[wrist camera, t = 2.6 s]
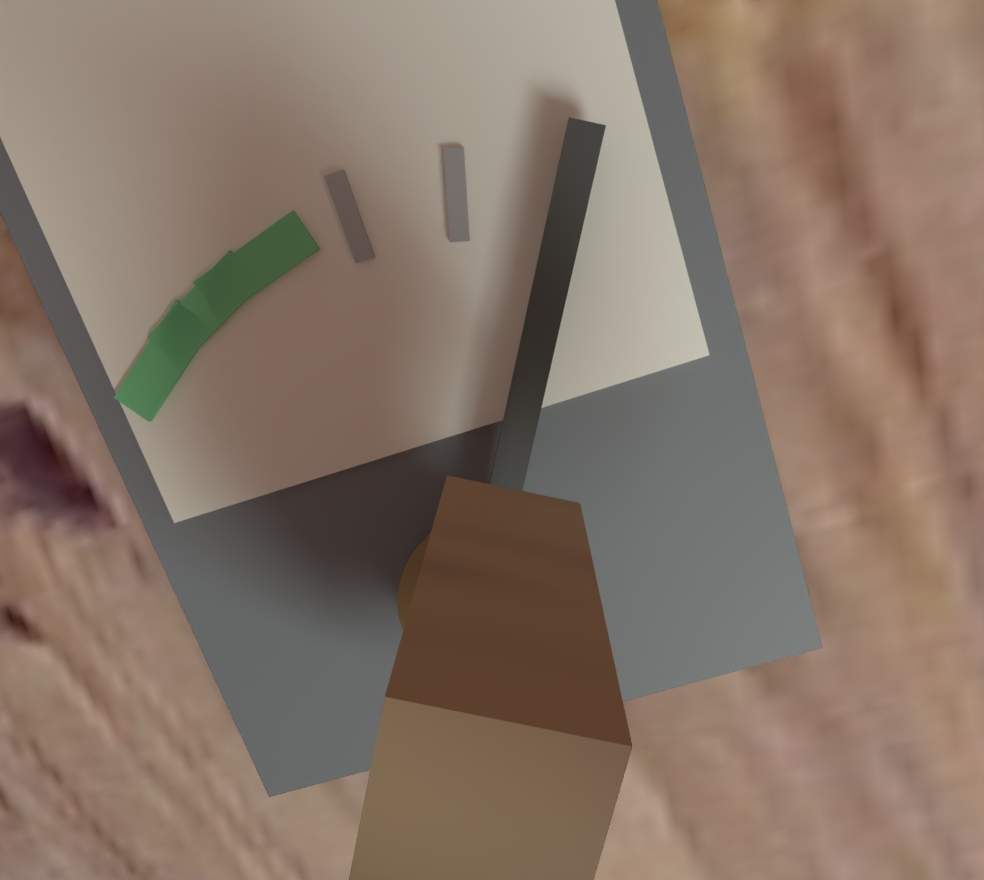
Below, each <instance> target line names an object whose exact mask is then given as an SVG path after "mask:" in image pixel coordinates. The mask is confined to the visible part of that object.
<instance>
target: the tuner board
mask: <svg viewBox="0 0 984 880" xmlns="http://www.w3.org/2000/svg"><path fill="white" fill-rule="evenodd" d="M569 117H570V118H575V119H580V120H584V121H589V122H593V123H598V124H603V125H606V128H605V132H604V136H603V141H602V145H601V149H600V154H599V158H598V163H597V167H596V171H595V176H594V180H593V184H592V189H591V193H590V198H589V202H588V206H587V211H586V215H585V219H584V224H583V228H582V232H581V237H580V241H579V246H578V250H577V254H576V259H575V263H574V267H573V272H572V276H571V281H570V285H569V289H568V294H567V298H566V302H565V307H564V311H563V316H562V320H561V324H560V329H559V333H558V337H557V342H556V346H555V351H554V355H553V359H552V364H551V368H550V372H549V377H548V381H547V386H546V390H545V394H544V399H543V403H542V407H541V412H540V416H539V421H538V425H537V429H536V434H535V438H534V442H533V447H532V451H531V456H530V460H529V464H528V469H527V473H526V477H525V482H524V486H523V491H525V492H530V493H535V494H540V495H544V496H549V497H554V498H559V499H564V500H569V501H573V502H578V503H580V505H581V509H582V514H583V519H584V523H585V528H586V533H587V537H588V542H589V547H590V551H591V556H592V561H593V565H594V570H595V575H596V579H597V584H598V589H599V593H600V598H601V603H602V607H603V612H604V617H605V621H606V626H607V631H608V635H609V640H610V645H611V649H612V654H613V659H614V663H615V668H616V673H617V677H618V682H619V687H620V691H621V696H622V701H627V700H631V699H634V698H638V697H642V696H646V695H649V694H653V693H657V692H660V691H664V690H668V689H672V688H675V687H679V686H683V685H686V684H690V683H694V682H697V681H701V680H705V679H709V678H712V677H716V676H720V675H723V674H727V673H731V672H735V671H738V670H742V669H746V668H749V667H753V666H757V665H760V664H764V663H768V662H772V661H775V660H779V659H783V658H786V657H790V656H794V655H798V654H801V653H805V652H809V651H812V650H816V649H820V648H823V647H822V643H821V639H820V635H819V631H818V627H817V624H816V620H815V616H814V612H813V608H812V604H811V600H810V596H809V592H808V588H807V584H806V580H805V577H804V573H803V569H802V565H801V561H800V557H799V553H798V549H797V545H796V541H795V537H794V533H793V530H792V526H791V522H790V518H789V514H788V510H787V506H786V502H785V498H784V494H783V490H782V486H781V483H780V479H779V475H778V471H777V467H776V463H775V459H774V455H773V451H772V447H771V443H770V440H769V436H768V432H767V428H766V424H765V420H764V416H763V412H762V408H761V404H760V400H759V396H758V393H757V389H756V385H755V381H754V377H753V373H752V369H751V365H750V361H749V357H748V353H747V349H746V346H745V342H744V338H743V334H742V330H741V326H740V322H739V318H738V314H737V310H736V306H735V302H734V299H733V295H732V291H731V287H730V283H729V279H728V275H727V271H726V267H725V263H724V259H723V255H722V252H721V248H720V244H719V240H718V236H717V232H716V228H715V224H714V220H713V216H712V212H711V208H710V205H709V201H708V197H707V193H706V189H705V185H704V181H703V177H702V173H701V169H700V165H699V162H698V158H697V154H696V150H695V146H694V142H693V138H692V134H691V130H690V126H689V122H688V118H687V115H686V111H685V107H684V103H683V99H682V95H681V91H680V87H679V83H678V79H677V75H676V71H675V68H674V64H673V60H672V56H671V52H670V48H669V44H668V40H667V36H666V32H665V28H664V24H663V21H662V17H661V13H660V9H659V5H658V1H657V0H0V214H1V216H2V218H3V220H4V222H5V225H6V227H7V229H8V231H9V233H10V235H11V238H12V240H13V242H14V244H15V246H16V248H17V251H18V253H19V255H20V257H21V259H22V261H23V264H24V266H25V268H26V270H27V272H28V275H29V277H30V279H31V281H32V283H33V285H34V288H35V290H36V292H37V294H38V296H39V298H40V301H41V303H42V305H43V307H44V309H45V311H46V314H47V316H48V318H49V320H50V322H51V324H52V327H53V329H54V331H55V333H56V335H57V337H58V340H59V342H60V344H61V346H62V348H63V351H64V353H65V355H66V357H67V359H68V361H69V364H70V366H71V368H72V370H73V372H74V374H75V377H76V379H77V381H78V383H79V385H80V387H81V390H82V392H83V394H84V396H85V398H86V400H87V403H88V405H89V407H90V409H91V411H92V413H93V416H94V418H95V420H96V422H97V424H98V426H99V429H100V431H101V433H102V435H103V437H104V440H105V442H106V444H107V446H108V448H109V450H110V453H111V455H112V457H113V459H114V461H115V463H116V466H117V468H118V470H119V472H120V474H121V476H122V479H123V481H124V483H125V485H126V487H127V489H128V492H129V494H130V496H131V498H132V500H133V502H134V505H135V507H136V509H137V511H138V513H139V516H140V518H141V520H142V522H143V524H144V526H145V529H146V531H147V533H148V535H149V537H150V539H151V542H152V544H153V546H154V548H155V550H156V552H157V555H158V557H159V559H160V561H161V563H162V565H163V568H164V570H165V572H166V574H167V576H168V578H169V581H170V583H171V585H172V587H173V589H174V592H175V594H176V596H177V598H178V600H179V602H180V605H181V607H182V609H183V611H184V613H185V615H186V618H187V620H188V622H189V624H190V626H191V628H192V631H193V633H194V635H195V637H196V639H197V641H198V644H199V646H200V648H201V650H202V652H203V654H204V657H205V659H206V661H207V663H208V665H209V667H210V670H211V672H212V674H213V676H214V678H215V681H216V683H217V685H218V687H219V689H220V691H221V694H222V696H223V698H224V700H225V702H226V704H227V707H228V709H229V711H230V713H231V715H232V717H233V720H234V722H235V724H236V726H237V728H238V730H239V733H240V735H241V737H242V739H243V741H244V743H245V746H246V748H247V750H248V752H249V754H250V757H251V759H252V761H253V763H254V765H255V767H256V770H257V772H258V774H259V776H260V778H261V780H262V783H263V785H264V787H265V789H266V791H267V793H268V796H269V797H271V796H275V795H279V794H282V793H286V792H290V791H293V790H297V789H301V788H305V787H308V786H312V785H316V784H319V783H323V782H327V781H331V780H334V779H338V778H342V777H345V776H349V775H353V774H356V773H360V772H364V771H368V770H370V769H371V764H372V759H373V754H374V749H375V744H376V739H377V733H378V728H379V723H380V718H381V713H382V708H383V703H384V698H385V694H386V690H387V687H388V683H389V680H390V676H391V673H392V669H393V665H394V662H395V658H396V655H397V651H398V648H399V644H400V641H401V637H402V634H403V629H402V626H401V623H400V620H399V615H398V609H397V596H398V588H399V584H400V580H401V577H402V574H403V571H404V568H405V565H406V563H407V561H408V558H409V557H410V555H411V553H412V552H413V550H414V549H415V548H416V546H417V545H418V544H419V543H420V542H421V541H422V540H423V539H424V538H425V537H426V536H427V535H428V534H430V533H431V531H432V527H433V523H434V520H435V516H436V513H437V509H438V506H439V502H440V499H441V495H442V492H443V488H444V484H445V481H446V477H447V475H448V476H453V477H458V478H462V479H467V480H472V481H477V482H482V483H486V484H489V482H490V478H491V473H492V468H493V464H494V459H495V455H496V450H497V445H498V441H499V436H500V432H501V427H502V422H503V418H504V413H505V409H506V404H507V399H508V395H509V390H510V385H511V381H512V376H513V372H514V367H515V362H516V358H517V353H518V349H519V344H520V339H521V335H522V330H523V326H524V321H525V316H526V312H527V307H528V303H529V298H530V293H531V289H532V284H533V279H534V275H535V270H536V266H537V261H538V256H539V252H540V247H541V243H542V238H543V233H544V229H545V224H546V220H547V215H548V210H549V206H550V201H551V196H552V192H553V187H554V183H555V178H556V173H557V169H558V164H559V160H560V155H561V150H562V146H563V141H564V137H565V132H566V127H567V123H568V119H569Z"/></svg>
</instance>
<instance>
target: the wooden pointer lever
mask: <svg viewBox="0 0 984 880" xmlns="http://www.w3.org/2000/svg"><path fill="white" fill-rule="evenodd" d="M605 128H606V125H603V124H598V123H593V122H589V121H584V120H580V119H575V118H570V117H569V119H568V123H567V127H566V132H565V137H564V141H563V146H562V150H561V155H560V160H559V164H558V169H557V173H556V178H555V183H554V187H553V192H552V196H551V201H550V206H549V210H548V215H547V220H546V224H545V229H544V233H543V238H542V243H541V247H540V252H539V256H538V261H537V266H536V270H535V275H534V279H533V284H532V289H531V293H530V298H529V303H528V307H527V312H526V316H525V321H524V326H523V330H522V335H521V339H520V344H519V349H518V353H517V358H516V362H515V367H514V372H513V376H512V381H511V385H510V390H509V395H508V399H507V404H506V409H505V413H504V418H503V422H502V427H501V432H500V436H499V441H498V445H497V450H496V455H495V459H494V464H493V468H492V473H491V478H490V482H489V484H486V483H482V482H477V481H472V480H467V479H462V478H458V477H453V476H448V475H447V477H446V481H445V484H444V488H443V492H442V495H441V499H440V502H439V506H438V509H437V513H436V516H435V520H434V523H433V527H432V531H431V533H430V534H428V535H427V536H426V537H425V538H424V539H423V540H422V541H421V542H420V543H419V544H418V545H417V546H416V548H415V549H414V550H413V552H412V553H411V555H410V557H409V558H408V561H407V563H406V565H405V568H404V571H403V574H402V577H401V580H400V584H399V588H398V596H397V609H398V615H399V620H400V623H401V626H402V629H403V634H402V637H401V641H400V644H399V648H398V651H397V655H396V658H395V662H394V665H393V669H392V673H391V676H390V680H389V683H388V687H387V690H386V694H385V698H384V703H383V708H382V713H381V718H380V723H379V728H378V733H377V739H376V744H375V749H374V754H373V759H372V764H371V769H370V774H369V779H368V784H367V790H366V795H365V800H364V805H363V810H362V815H361V820H360V825H359V830H358V836H357V841H356V846H355V851H354V856H353V861H352V866H351V871H350V876H349V880H594V877H595V873H596V870H597V866H598V863H599V860H600V856H601V853H602V849H603V846H604V842H605V839H606V835H607V832H608V829H609V825H610V822H611V818H612V815H613V811H614V808H615V804H616V801H617V798H618V794H619V791H620V787H621V784H622V780H623V777H624V773H625V770H626V767H627V763H628V760H629V756H630V753H631V749H632V743H631V738H630V733H629V729H628V724H627V719H626V715H625V710H624V705H623V701H622V696H621V691H620V687H619V682H618V677H617V673H616V668H615V663H614V659H613V654H612V649H611V645H610V640H609V635H608V631H607V626H606V621H605V617H604V612H603V607H602V603H601V598H600V593H599V589H598V584H597V579H596V575H595V570H594V565H593V561H592V556H591V551H590V547H589V542H588V537H587V533H586V528H585V523H584V519H583V514H582V509H581V505H580V503H578V502H573V501H569V500H564V499H559V498H554V497H549V496H544V495H540V494H535V493H530V492H525V491H523V486H524V482H525V477H526V473H527V469H528V464H529V460H530V456H531V451H532V447H533V442H534V438H535V434H536V429H537V425H538V421H539V416H540V412H541V407H542V403H543V399H544V394H545V390H546V386H547V381H548V377H549V372H550V368H551V364H552V359H553V355H554V351H555V346H556V342H557V337H558V333H559V329H560V324H561V320H562V316H563V311H564V307H565V302H566V298H567V294H568V289H569V285H570V281H571V276H572V272H573V267H574V263H575V259H576V254H577V250H578V246H579V241H580V237H581V232H582V228H583V224H584V219H585V215H586V211H587V206H588V202H589V198H590V193H591V189H592V184H593V180H594V176H595V171H596V167H597V163H598V158H599V154H600V149H601V145H602V141H603V136H604V132H605Z"/></svg>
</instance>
